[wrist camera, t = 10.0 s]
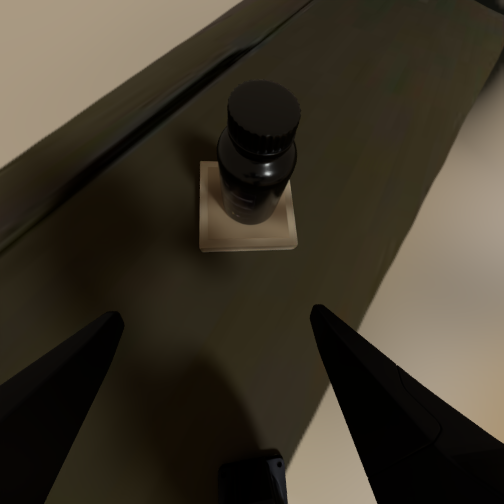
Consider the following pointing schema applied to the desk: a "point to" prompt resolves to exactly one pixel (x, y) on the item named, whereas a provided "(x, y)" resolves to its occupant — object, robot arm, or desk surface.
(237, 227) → the base slab
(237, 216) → the supplement bottle
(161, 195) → the desk surface
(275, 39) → the desk surface
